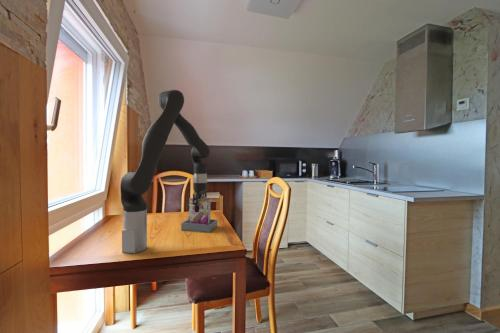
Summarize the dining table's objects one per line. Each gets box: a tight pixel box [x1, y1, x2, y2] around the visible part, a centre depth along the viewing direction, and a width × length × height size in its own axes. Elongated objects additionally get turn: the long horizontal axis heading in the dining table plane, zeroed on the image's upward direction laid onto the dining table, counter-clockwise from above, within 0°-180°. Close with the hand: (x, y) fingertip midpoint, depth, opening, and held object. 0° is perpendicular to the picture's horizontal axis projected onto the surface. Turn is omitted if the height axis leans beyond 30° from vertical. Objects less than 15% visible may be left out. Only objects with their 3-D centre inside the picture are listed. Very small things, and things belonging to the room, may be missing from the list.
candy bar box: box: [188, 196, 211, 225], centre depth 138 cm, size 11×5×16 cm, turn 83°
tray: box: [180, 218, 218, 234], centre depth 138 cm, size 12×17×4 cm
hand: (199, 210), depth 138 cm, fingers open, 8 cm apart
